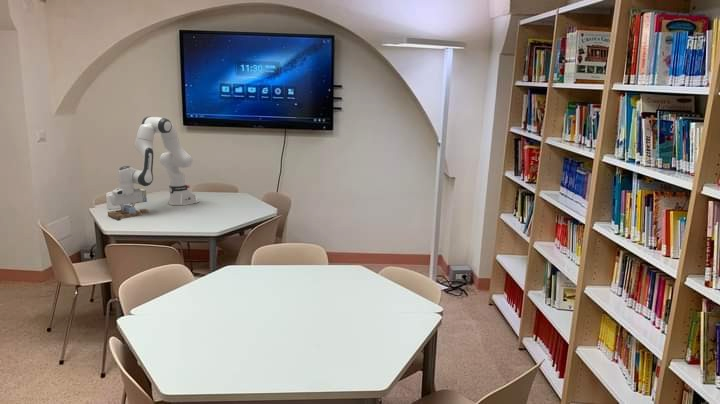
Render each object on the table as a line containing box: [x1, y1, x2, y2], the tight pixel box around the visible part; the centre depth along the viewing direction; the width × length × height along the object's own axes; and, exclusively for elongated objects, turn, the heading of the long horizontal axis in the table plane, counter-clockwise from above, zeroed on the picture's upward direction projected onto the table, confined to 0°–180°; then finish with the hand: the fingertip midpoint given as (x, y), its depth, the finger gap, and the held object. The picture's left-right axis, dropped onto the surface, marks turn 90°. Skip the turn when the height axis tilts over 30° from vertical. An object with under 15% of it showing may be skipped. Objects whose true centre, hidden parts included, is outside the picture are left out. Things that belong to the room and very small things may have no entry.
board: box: [107, 209, 142, 221], centre depth 348 cm, size 16×16×3 cm
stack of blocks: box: [113, 188, 148, 205], centre depth 386 cm, size 21×6×12 cm, turn 140°
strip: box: [120, 204, 136, 214], centre depth 350 cm, size 4×14×5 cm, turn 47°
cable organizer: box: [105, 191, 131, 211], centre depth 368 cm, size 15×11×12 cm
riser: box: [139, 208, 149, 214], centre depth 358 cm, size 4×5×2 cm
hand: (128, 209), depth 350 cm, fingers open, 4 cm apart
